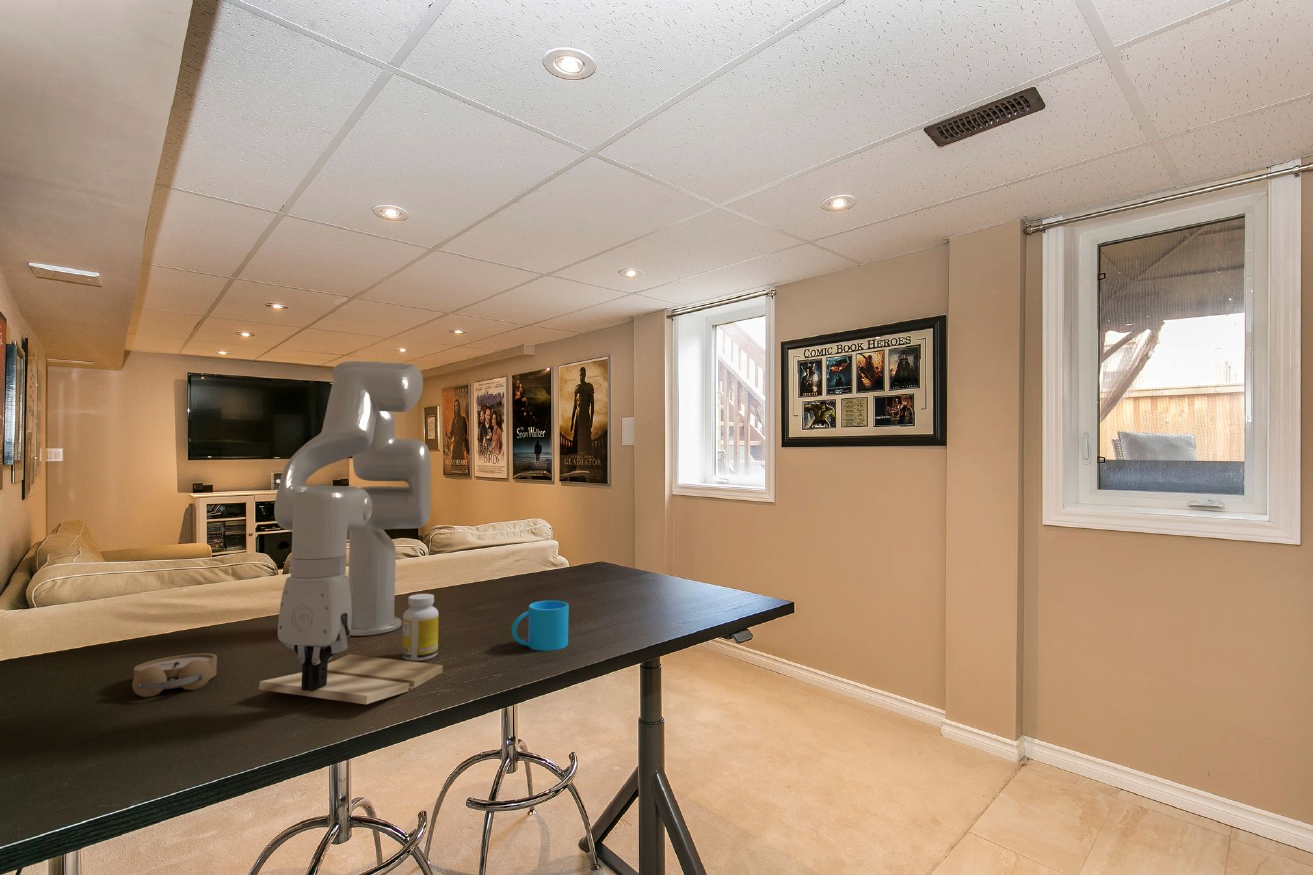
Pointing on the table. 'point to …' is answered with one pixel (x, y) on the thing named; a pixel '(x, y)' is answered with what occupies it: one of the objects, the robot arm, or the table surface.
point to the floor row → (385, 669)
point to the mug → (545, 626)
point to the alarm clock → (174, 673)
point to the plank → (338, 688)
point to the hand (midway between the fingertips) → (314, 687)
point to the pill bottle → (420, 628)
